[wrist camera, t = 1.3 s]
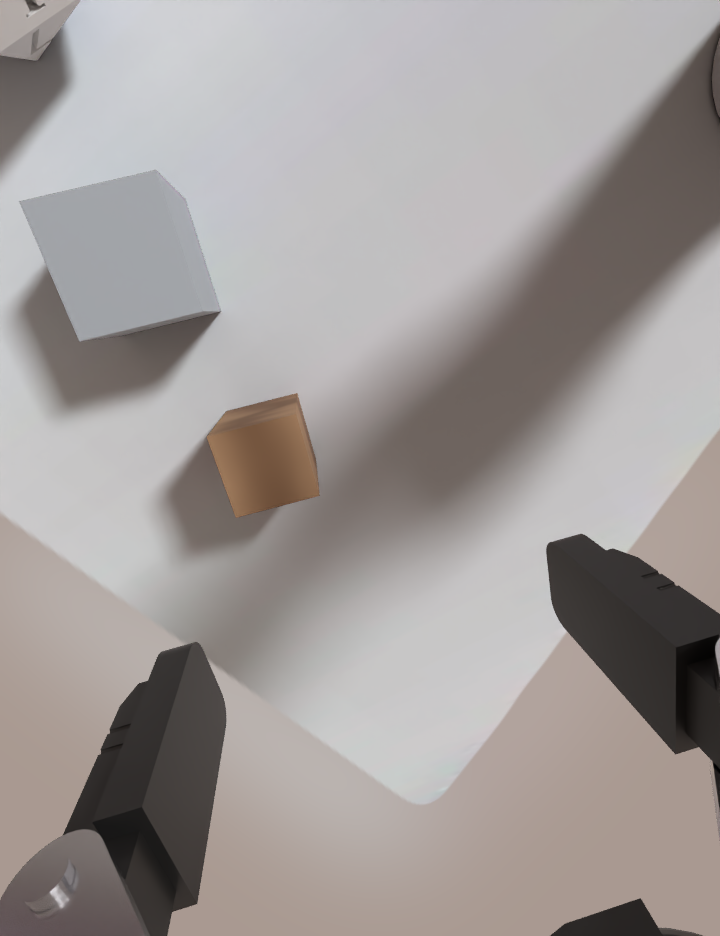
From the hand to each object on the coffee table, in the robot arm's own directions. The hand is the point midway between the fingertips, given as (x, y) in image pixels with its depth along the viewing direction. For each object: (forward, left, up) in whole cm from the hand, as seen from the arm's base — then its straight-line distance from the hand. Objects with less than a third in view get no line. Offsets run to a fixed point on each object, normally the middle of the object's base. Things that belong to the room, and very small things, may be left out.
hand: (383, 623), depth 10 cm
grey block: (+8, -11, -24) cm, 27 cm away
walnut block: (+4, +1, -24) cm, 24 cm away
